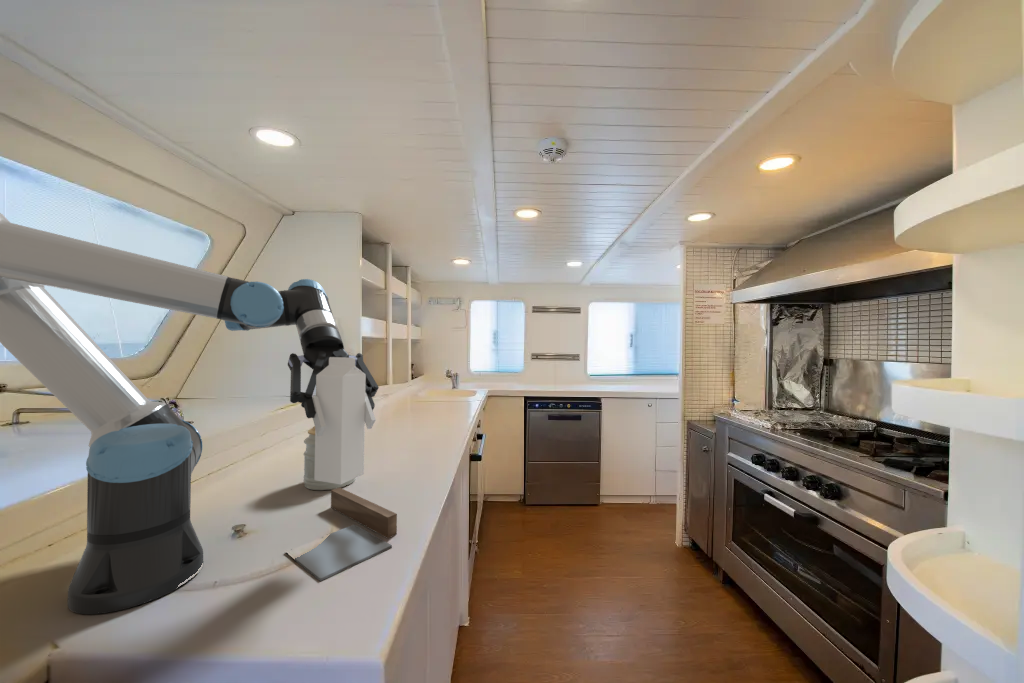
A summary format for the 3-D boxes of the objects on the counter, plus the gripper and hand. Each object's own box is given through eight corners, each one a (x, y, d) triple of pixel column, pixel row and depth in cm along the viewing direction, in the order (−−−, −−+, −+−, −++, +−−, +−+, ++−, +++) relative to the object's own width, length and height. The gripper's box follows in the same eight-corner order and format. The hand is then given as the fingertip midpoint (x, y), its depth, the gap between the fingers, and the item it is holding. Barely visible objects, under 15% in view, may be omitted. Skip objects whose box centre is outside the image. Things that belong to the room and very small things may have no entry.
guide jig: (320, 581, 61) (320, 555, 61) (258, 531, 77) (258, 511, 77) (407, 539, 74) (407, 518, 74) (339, 504, 90) (339, 487, 90)
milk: (340, 485, 67) (343, 358, 67) (313, 480, 69) (315, 357, 69) (364, 474, 73) (366, 357, 73) (338, 470, 75) (340, 356, 75)
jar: (355, 471, 113) (355, 411, 113) (358, 486, 101) (358, 418, 101) (304, 478, 107) (305, 414, 107) (301, 494, 96) (302, 422, 96)
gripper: (364, 349, 90) (395, 431, 78) (258, 349, 75) (276, 449, 64) (374, 326, 86) (408, 408, 74) (264, 321, 72) (285, 422, 60)
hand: (347, 427), depth 69 cm, fingers closed on milk, 8 cm apart
